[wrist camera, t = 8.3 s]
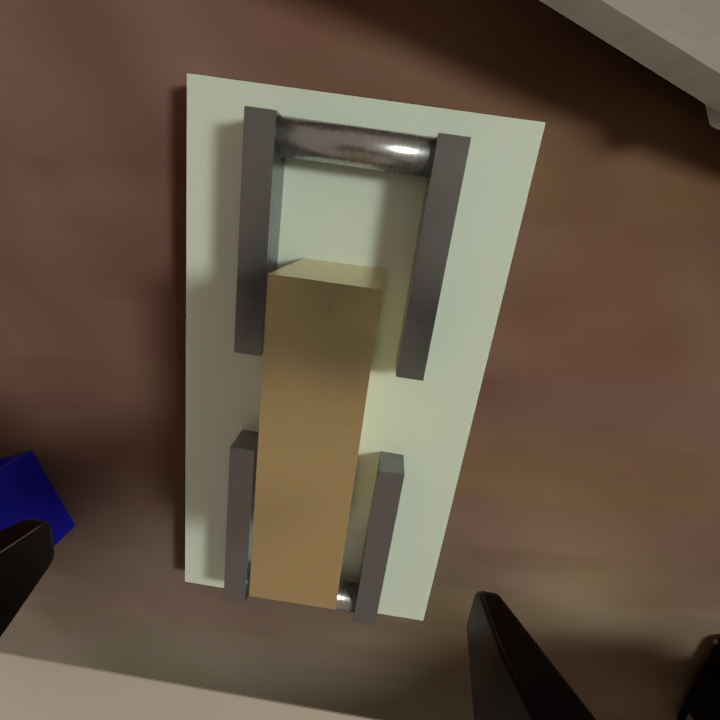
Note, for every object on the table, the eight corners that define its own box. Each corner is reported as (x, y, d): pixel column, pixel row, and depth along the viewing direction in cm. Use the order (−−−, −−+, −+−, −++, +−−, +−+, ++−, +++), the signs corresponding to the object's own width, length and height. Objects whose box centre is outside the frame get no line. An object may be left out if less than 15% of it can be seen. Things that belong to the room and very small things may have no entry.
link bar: (384, 269, 16) (382, 289, 11) (348, 513, 19) (335, 609, 14) (304, 257, 16) (268, 273, 11) (284, 503, 19) (248, 595, 14)
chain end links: (463, 145, 14) (471, 137, 13) (375, 596, 21) (374, 624, 19) (258, 117, 14) (244, 105, 13) (234, 574, 21) (223, 600, 19)
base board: (535, 128, 15) (545, 122, 14) (421, 603, 22) (423, 620, 21) (199, 82, 15) (186, 73, 14) (193, 565, 22) (184, 581, 21)
